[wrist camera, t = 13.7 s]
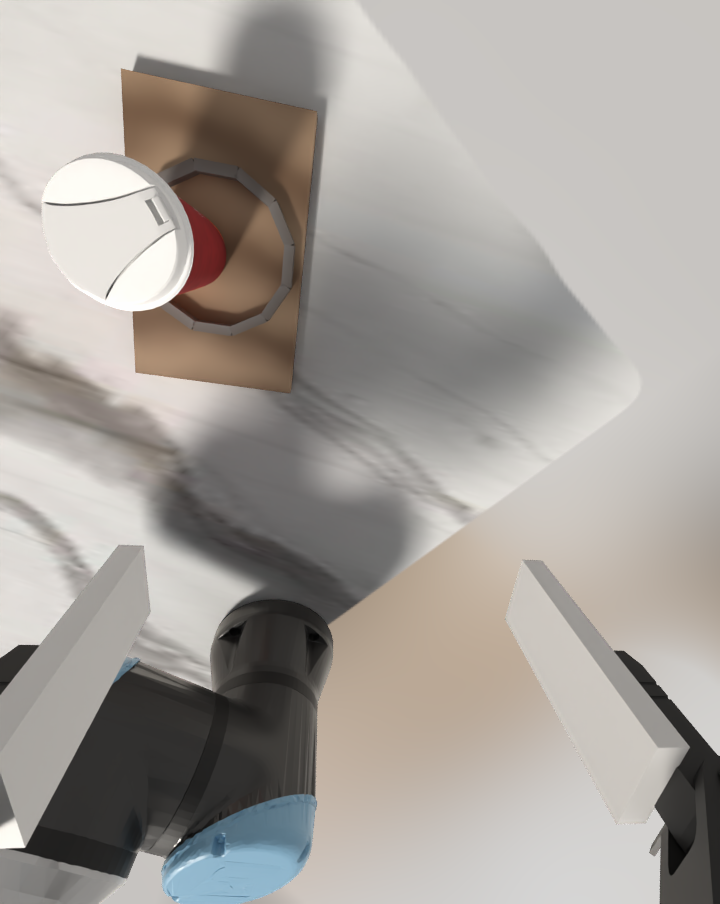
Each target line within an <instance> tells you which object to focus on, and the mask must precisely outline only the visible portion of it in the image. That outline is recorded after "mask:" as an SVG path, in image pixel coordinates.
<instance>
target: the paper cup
mask: <svg viewBox="0 0 720 904" xmlns="http://www.w3.org/2000/svg"><path fill="white" fill-rule="evenodd" d="M43 202H44V203H43ZM41 204H42V226H43V232H44V236H45V240H46V244H47V248H48V251H49V253H50V256H51V258H52V259H53V261H54V263H55V264H56V266H57V267H58V268H59V270H60V271H61V272H62V274H63V275H64V276H65V277H66V278H67V279H68V280H69V281H70V282H71V283H72V284H73V285H74V286H75V287H76V288H77V289H78V290H80V291H82V292H84V293H85V294H87V295H89V296H90V297H92V298H94V299H95V300H97V301H99V302H101V303H103V304H105V305H107V306H110V307H113V308H117V309H120V310H127V311H144V310H150V309H154V308H156V307H159V306H162V305H163V304H165V303H167V302H168V301H170V300H171V299H172V298H174V297H175V296H176V295H179V294H183V293H186V292H189V291H192V290H195V289H198V288H201V287H204V286H206V285H208V284H210V283H212V282H213V281H215V280H216V279H217V278H218V277H219V276H220V274H221V273H222V271H223V269H224V266H225V263H226V247H225V243H224V240H223V238H222V236H221V234H220V232H219V231H218V229H217V228H216V227H215V225H214V224H213V223H212V222H211V221H210V220H209V219H207V218H206V217H205V216H204V215H202V214H201V213H200V212H198V211H197V210H196V209H194V208H193V207H192V206H190V205H189V204H188V203H186V202H185V201H184V200H182V199H181V198H180V197H178V196H177V195H176V194H175V193H174V191H173V190H172V189H171V188H170V187H169V185H168V184H167V183H166V182H165V181H164V180H163V179H162V178H161V177H160V176H159V175H158V174H156V173H155V172H154V171H152V170H151V169H150V168H148V167H147V166H145V165H143V164H142V163H140V162H138V161H136V160H134V159H131V158H128V157H126V156H123V155H118V154H113V153H93V154H88V155H84V156H82V157H79V158H77V159H75V160H73V161H72V162H70V163H68V164H66V165H65V166H63V167H62V168H60V169H59V170H58V171H57V172H56V173H55V174H54V175H53V176H52V178H51V179H50V181H49V183H48V184H47V186H46V188H45V191H44V193H43V196H42V203H41Z"/></svg>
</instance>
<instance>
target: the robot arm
mask: <svg viewBox="0 0 720 904" xmlns="http://www.w3.org/2000/svg"><path fill="white" fill-rule="evenodd" d="M149 614H150V603H149V593H148V584H147V574H146V564H145V555H144V546H133V545H119V546H118V547H117V548H116V549H115V551H114V552H113V553H112V554H111V556H110V557H109V558H108V559H107V561H106V562H105V563H104V564H103V566H102V567H101V568H100V570H99V571H98V572H97V573H96V575H95V576H94V577H93V578H92V580H91V581H90V582H89V583H88V585H87V586H86V587H85V589H84V590H83V591H82V592H81V594H80V595H79V596H78V597H77V599H76V600H75V601H74V602H73V604H72V605H71V606H70V608H69V609H68V610H67V611H66V613H65V614H64V615H63V616H62V618H61V619H60V620H59V621H58V623H57V624H56V625H55V627H54V628H53V629H52V630H51V632H50V633H49V634H48V635H47V637H46V638H45V639H44V640H43V642H42V643H41V644H40V645H18V646H17V647H15V648H14V649H13V650H11V651H10V652H8V653H7V654H6V655H4V656H3V657H1V658H0V904H100V903H101V902H102V901H104V900H105V899H106V898H108V897H109V896H110V895H112V894H113V893H114V892H116V891H117V890H118V889H120V888H121V887H122V886H124V884H125V882H126V880H127V878H128V875H129V873H130V870H131V868H132V865H133V863H134V861H135V858H136V856H137V854H138V852H139V851H141V852H146V853H150V854H153V855H157V856H161V857H164V858H165V859H166V860H165V862H164V865H163V868H162V871H161V872H162V886H163V890H164V892H165V894H166V895H167V896H171V897H172V899H173V900H174V901H175V902H177V903H180V904H240V903H244V902H248V901H251V900H254V899H258V898H260V897H263V896H266V895H268V894H270V893H272V892H274V891H276V890H278V889H280V888H281V887H283V886H285V885H286V884H287V883H289V882H290V881H291V880H293V879H294V878H295V877H296V876H297V875H298V874H299V872H300V871H301V870H302V869H303V867H304V865H305V864H306V862H307V860H308V857H309V855H310V851H311V847H312V838H313V828H314V817H315V810H316V807H317V801H316V798H315V789H316V746H317V705H318V701H319V698H320V695H321V693H322V690H323V687H324V685H325V682H326V679H327V677H328V674H329V671H330V668H331V665H332V659H333V640H332V635H331V632H330V630H329V628H328V626H327V624H326V623H325V622H324V620H323V619H322V618H321V617H320V616H319V615H317V614H316V613H315V612H313V611H312V610H310V609H308V608H306V607H304V606H302V605H299V604H296V603H293V602H288V601H281V600H265V601H258V602H254V603H250V604H247V605H245V606H242V607H240V608H238V609H236V610H235V611H233V612H232V613H230V614H229V615H228V616H227V617H226V618H225V619H224V620H223V621H222V622H221V624H220V625H219V627H218V629H217V631H216V634H215V637H214V641H213V644H212V647H211V653H210V662H211V677H212V691H211V690H209V689H206V688H204V687H201V686H199V685H196V684H194V683H191V682H189V681H186V680H184V679H181V678H179V677H176V676H174V675H171V674H169V673H167V672H164V671H162V670H159V669H157V668H154V667H152V666H149V665H147V664H144V663H142V662H140V659H139V658H134V659H132V658H129V657H127V655H128V653H129V651H130V649H131V648H132V646H133V644H134V642H135V640H136V638H137V636H138V634H139V633H140V631H141V629H142V627H143V625H144V623H145V621H146V619H147V617H148V616H149ZM505 620H506V622H507V624H508V625H509V627H510V629H511V631H512V633H513V635H514V637H515V638H516V640H517V642H518V644H519V646H520V648H521V649H522V651H523V653H524V655H525V657H526V659H527V660H528V662H529V664H530V666H531V668H532V670H533V672H534V673H535V675H536V677H537V679H538V681H539V683H540V684H541V686H542V688H543V690H544V692H545V694H546V695H547V697H548V699H549V701H550V703H551V705H552V707H553V708H554V710H555V712H556V714H557V716H558V717H559V719H560V721H561V723H562V725H563V727H564V729H565V731H566V732H567V734H568V736H569V738H570V740H571V741H572V743H573V745H574V747H575V749H576V751H577V753H578V754H579V756H580V758H581V760H582V762H583V764H584V765H585V767H586V769H587V771H588V773H589V774H590V777H591V778H592V780H593V782H594V784H595V786H596V788H597V789H598V791H599V793H600V795H601V797H602V799H603V800H604V802H605V804H606V806H607V808H608V810H609V812H610V813H611V815H612V817H613V819H614V821H615V823H616V824H640V823H646V822H647V820H648V818H649V816H650V815H651V813H652V812H653V810H654V808H656V810H657V811H658V813H659V814H660V816H661V818H662V819H663V821H664V822H665V824H664V826H663V828H662V829H661V831H660V833H659V834H658V836H657V837H656V839H655V841H654V842H653V844H652V846H651V849H650V852H649V853H650V854H652V855H653V856H655V855H656V854H657V852H658V851H659V849H660V848H661V861H660V863H661V865H660V904H720V756H718V755H717V754H716V753H715V752H714V751H713V749H712V748H711V747H710V746H709V745H708V743H707V742H706V741H705V740H704V739H703V738H702V736H701V735H700V734H699V733H698V731H697V730H696V729H695V728H694V727H693V726H692V724H691V723H690V722H689V721H688V720H687V719H686V717H685V716H684V715H683V714H682V712H681V711H680V710H679V709H678V708H677V706H676V705H675V704H674V703H673V702H672V700H669V699H668V696H667V695H666V693H665V692H664V691H663V690H662V689H661V687H660V686H659V685H657V684H656V681H655V680H654V679H653V678H652V677H651V676H650V674H649V673H648V672H647V671H646V669H645V668H644V667H643V666H642V665H641V664H640V663H639V662H637V661H636V660H635V659H633V658H632V657H631V656H630V655H628V654H627V653H626V652H625V651H613V650H612V648H611V647H610V646H609V645H608V643H607V642H606V641H605V639H604V638H603V637H602V636H601V634H600V633H599V632H598V631H597V629H596V628H595V627H594V626H593V624H592V623H591V622H590V620H589V619H588V618H587V617H586V616H585V614H584V613H583V612H582V610H581V609H580V608H579V607H578V605H577V604H576V603H575V602H574V600H573V599H572V598H571V597H570V595H569V594H568V593H567V592H566V590H565V589H564V588H563V586H562V585H561V584H560V583H559V581H558V580H557V579H556V578H555V576H554V575H553V574H552V573H551V571H550V570H549V569H548V568H547V566H546V565H545V564H544V562H543V561H538V560H522V563H521V566H520V569H519V573H518V576H517V580H516V583H515V586H514V590H513V593H512V597H511V600H510V604H509V607H508V610H507V614H506V618H505Z"/></svg>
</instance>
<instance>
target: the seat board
mask: <svg viewBox="0 0 720 904" xmlns="http://www.w3.org/2000/svg"><path fill="white" fill-rule="evenodd" d="M121 80H122V101H123V121H124V142H125V156H126V157H128V158H131V159H134V160H136V161H138V162H140V163H142V164H143V165H145V166H147V167H148V168H150V169H151V170H152V171H154V172H155V173H156V174H158V175H159V176H160V177H161V178H162V179H163V180H164V181H165V182H166V183H167V184H168V185H169V187H170V188H171V189H172V190H173V191H174V193H175V194H176V195H177V196H178V197H180V198H181V199H182V200H184V201H185V202H186V203H188V204H189V205H190V206H192V207H193V208H194V209H196V210H197V211H198V212H200V213H201V214H202V215H204V216H205V217H206V218H207V219H209V220H210V221H211V222H212V223H213V224H214V225H215V227H216V228H217V229H218V231H219V232H220V234H221V236H222V238H223V240H224V243H225V247H226V263H225V266H224V269H223V271H222V273H221V274H220V276H219V277H218V278H217V279H216V280H215V281H213V282H212V283H210V284H208V285H206V286H204V287H201V288H198V289H195V290H192V291H189V292H186V293H183V294H179V295H176V296H175V297H174V298H172V299H171V300H170V301H168V302H167V303H165V304H163V305H162V306H159V307H156V308H154V309H150V310H144V311H133V329H134V349H135V370H136V373H143V374H150V375H158V376H165V377H173V378H180V379H187V380H195V381H202V382H210V383H217V384H224V385H232V386H239V387H247V388H254V389H262V390H269V391H276V392H284V393H290V392H291V387H292V377H293V366H294V356H295V346H296V335H297V325H298V315H299V304H300V294H301V284H302V273H303V263H304V252H305V242H306V232H307V221H308V211H309V201H310V190H311V180H312V170H313V159H314V149H315V139H316V128H317V111H313V110H308V109H304V108H299V107H295V106H290V105H286V104H281V103H276V102H272V101H267V100H263V99H258V98H253V97H249V96H244V95H240V94H235V93H231V92H226V91H221V90H217V89H212V88H208V87H203V86H198V85H194V84H189V83H185V82H180V81H176V80H171V79H166V78H162V77H157V76H153V75H148V74H143V73H139V72H134V71H130V70H125V69H121Z"/></svg>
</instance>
